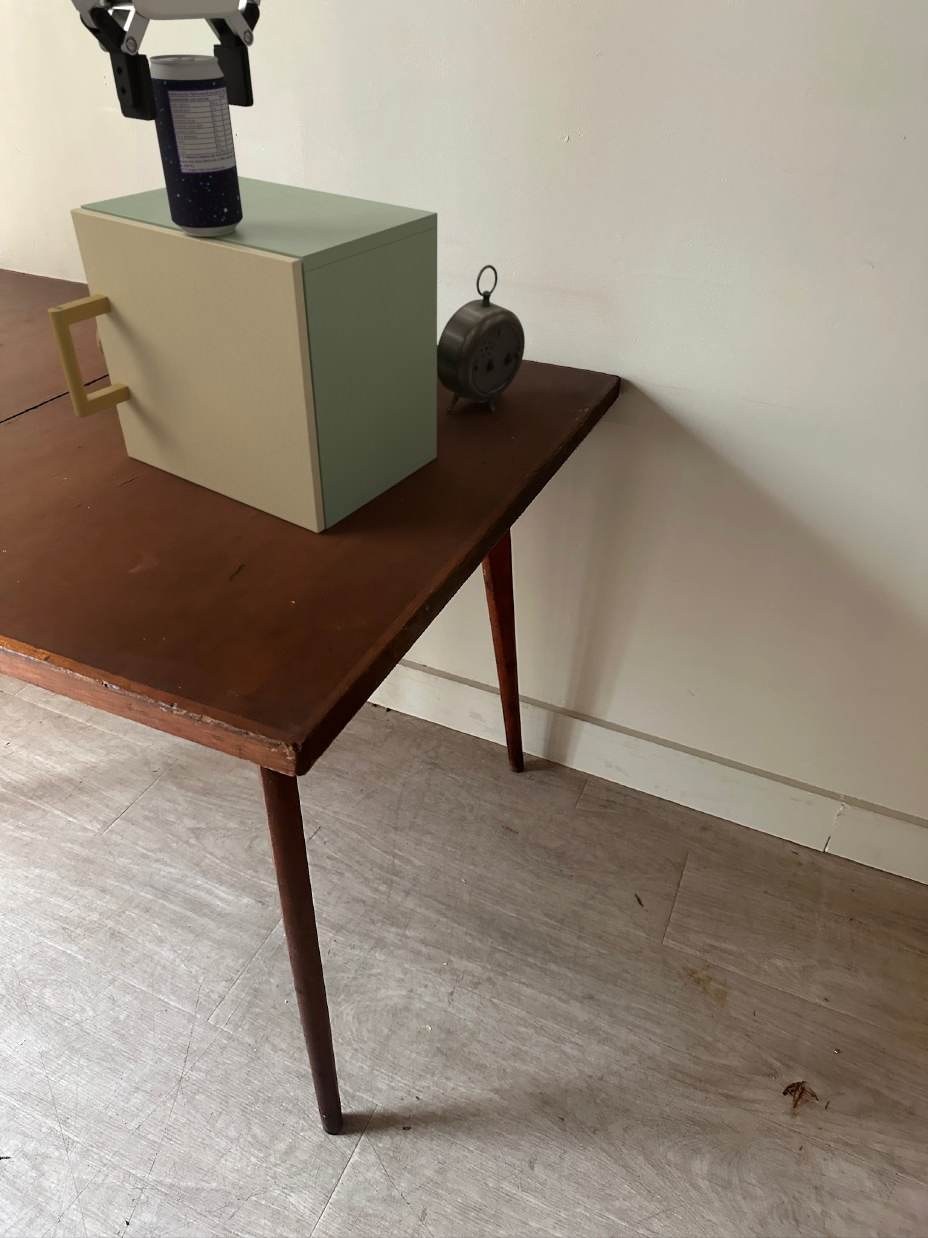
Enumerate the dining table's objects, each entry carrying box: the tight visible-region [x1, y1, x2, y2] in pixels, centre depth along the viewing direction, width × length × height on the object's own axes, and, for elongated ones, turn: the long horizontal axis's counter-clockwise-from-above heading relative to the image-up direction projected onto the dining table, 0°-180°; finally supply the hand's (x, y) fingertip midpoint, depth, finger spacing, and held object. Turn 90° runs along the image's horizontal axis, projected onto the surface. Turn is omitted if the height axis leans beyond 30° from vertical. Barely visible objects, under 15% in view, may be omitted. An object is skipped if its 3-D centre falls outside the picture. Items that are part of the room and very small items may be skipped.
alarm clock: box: [437, 264, 526, 414], centre depth 99 cm, size 11×5×16 cm, turn 134°
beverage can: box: [148, 54, 243, 237], centre depth 68 cm, size 6×6×12 cm
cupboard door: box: [47, 207, 326, 534], centre depth 77 cm, size 7×26×24 cm, turn 56°
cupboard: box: [80, 175, 438, 530], centre depth 85 cm, size 18×26×24 cm
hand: (191, 111), depth 66 cm, fingers open, 9 cm apart
